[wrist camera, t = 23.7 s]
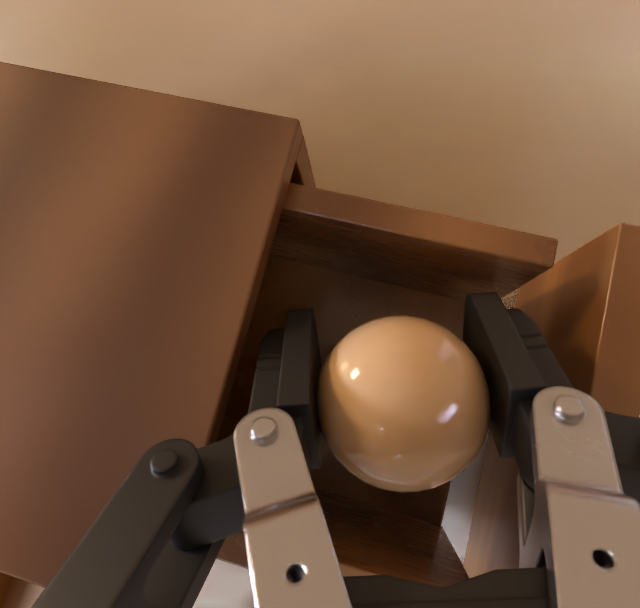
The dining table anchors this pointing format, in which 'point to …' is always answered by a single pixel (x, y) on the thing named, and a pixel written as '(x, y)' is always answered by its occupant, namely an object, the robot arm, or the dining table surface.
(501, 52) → the dining table surface
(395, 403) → the egg
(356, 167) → the dining table surface
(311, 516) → the robot arm
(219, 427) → the cabinet
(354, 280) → the drawer
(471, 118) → the dining table surface
